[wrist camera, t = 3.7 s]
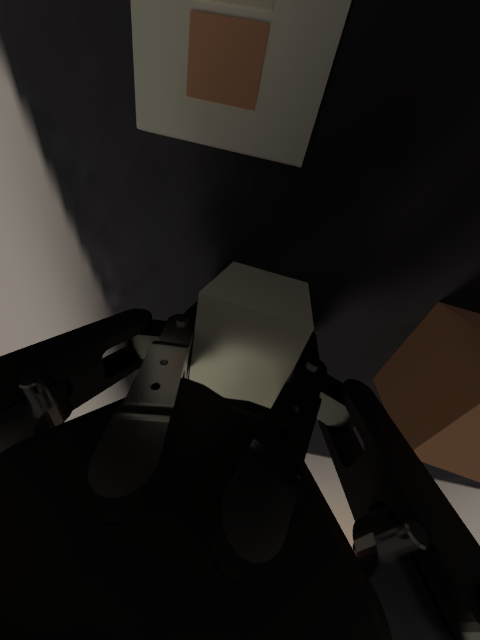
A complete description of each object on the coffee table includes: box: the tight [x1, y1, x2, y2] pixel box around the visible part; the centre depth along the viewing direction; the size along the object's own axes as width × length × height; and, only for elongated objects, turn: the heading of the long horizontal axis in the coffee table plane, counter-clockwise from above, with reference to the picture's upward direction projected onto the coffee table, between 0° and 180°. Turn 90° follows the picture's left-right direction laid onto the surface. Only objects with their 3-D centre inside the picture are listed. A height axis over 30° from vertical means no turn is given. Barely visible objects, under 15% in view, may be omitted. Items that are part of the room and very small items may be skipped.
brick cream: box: [189, 262, 314, 409], centre depth 11 cm, size 6×4×5 cm
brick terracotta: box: [373, 302, 480, 482], centre depth 10 cm, size 6×4×5 cm
